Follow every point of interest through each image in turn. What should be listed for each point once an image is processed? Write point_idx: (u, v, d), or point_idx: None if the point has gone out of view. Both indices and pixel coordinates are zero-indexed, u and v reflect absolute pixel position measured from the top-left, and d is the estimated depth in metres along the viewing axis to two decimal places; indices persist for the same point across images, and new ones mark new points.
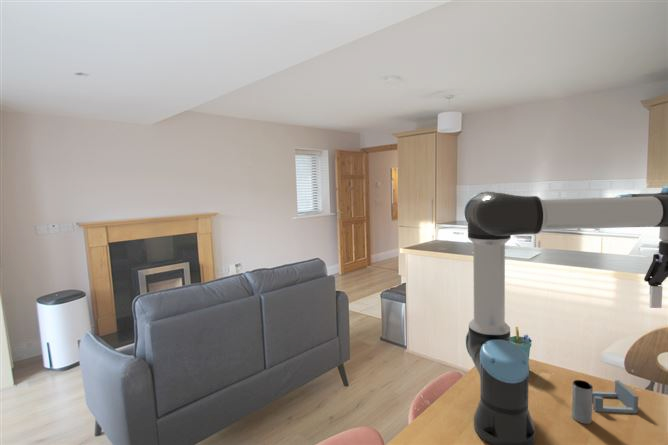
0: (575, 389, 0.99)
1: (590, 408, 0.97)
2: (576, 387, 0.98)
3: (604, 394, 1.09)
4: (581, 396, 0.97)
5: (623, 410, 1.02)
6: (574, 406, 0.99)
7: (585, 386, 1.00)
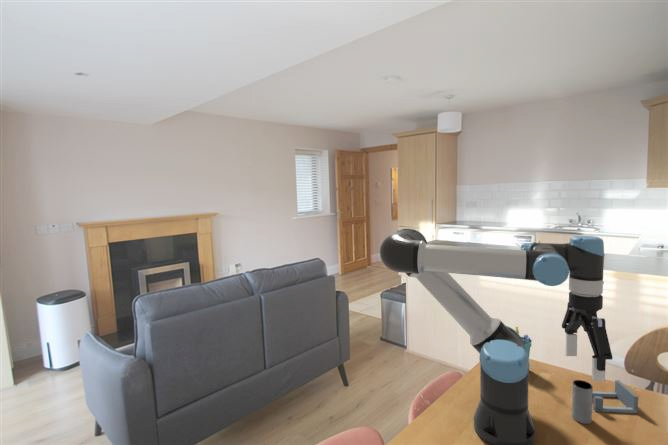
0: (575, 389, 0.99)
1: (590, 408, 0.97)
2: (576, 387, 0.98)
3: (604, 394, 1.09)
4: (581, 396, 0.97)
5: (623, 410, 1.02)
6: (574, 406, 0.99)
7: (585, 386, 1.00)
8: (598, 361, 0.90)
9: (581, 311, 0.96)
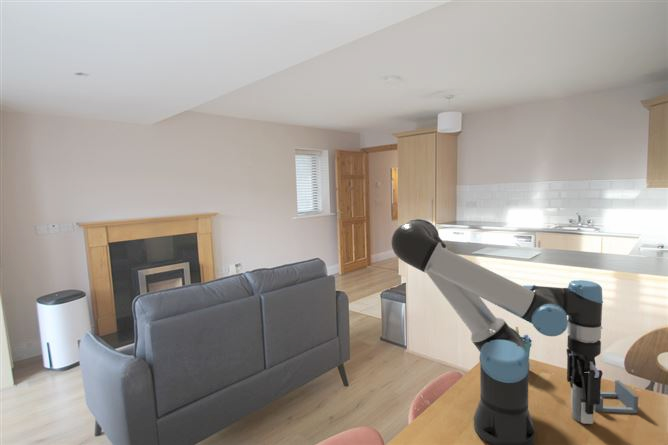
0: (575, 389, 0.99)
1: None
2: (576, 387, 0.98)
3: (604, 394, 1.09)
4: (581, 396, 0.97)
5: (623, 410, 1.02)
6: (574, 406, 0.99)
7: None
8: (586, 405, 0.96)
9: (579, 355, 0.98)
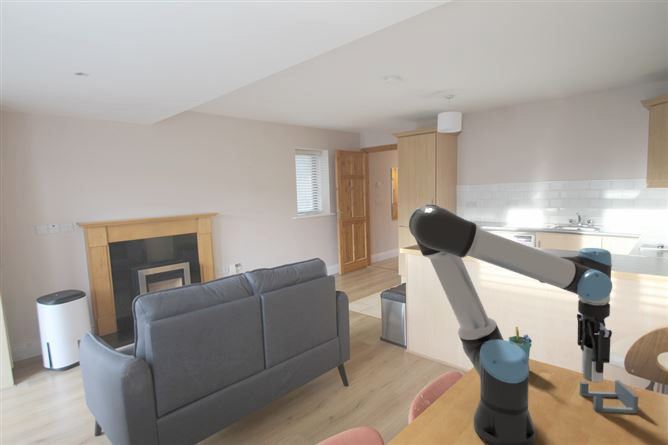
0: (586, 350, 1.05)
1: None
2: (587, 348, 1.04)
3: (604, 394, 1.09)
4: (592, 356, 1.03)
5: (623, 410, 1.02)
6: (585, 366, 1.05)
7: None
8: (597, 364, 1.02)
9: (590, 318, 1.04)
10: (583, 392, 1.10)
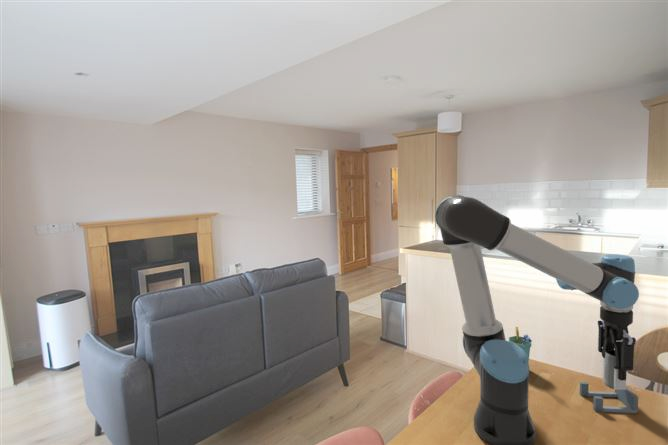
0: (608, 357, 1.04)
1: None
2: (609, 355, 1.04)
3: (604, 394, 1.09)
4: (614, 363, 1.03)
5: (623, 410, 1.02)
6: (607, 374, 1.05)
7: None
8: (619, 371, 1.01)
9: (612, 325, 1.03)
10: (583, 392, 1.10)
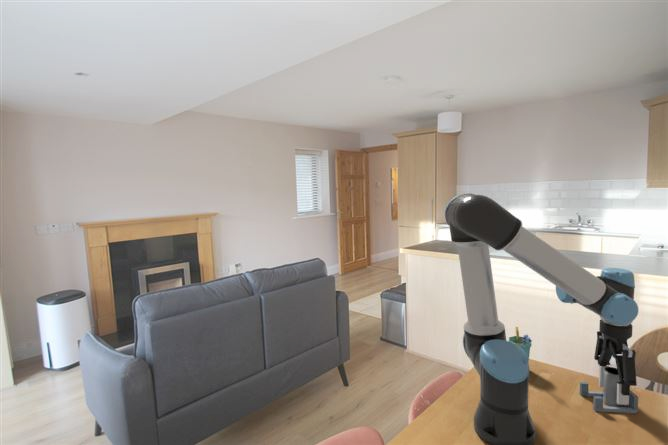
0: (607, 375, 1.05)
1: None
2: (608, 373, 1.04)
3: None
4: (612, 381, 1.03)
5: (623, 410, 1.02)
6: (605, 391, 1.05)
7: (616, 372, 1.06)
8: (623, 386, 1.00)
9: (611, 338, 1.03)
10: (583, 392, 1.10)
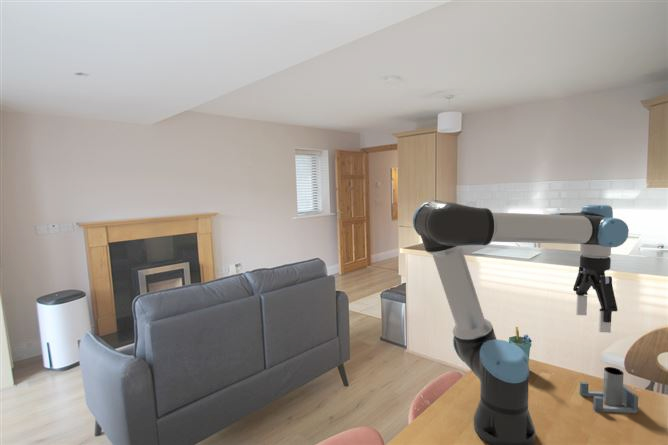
0: (607, 375, 1.05)
1: (621, 393, 1.03)
2: (608, 373, 1.04)
3: None
4: (613, 381, 1.03)
5: (623, 410, 1.02)
6: (605, 391, 1.05)
7: (616, 372, 1.06)
8: (604, 314, 1.02)
9: (591, 272, 1.08)
10: (583, 392, 1.10)
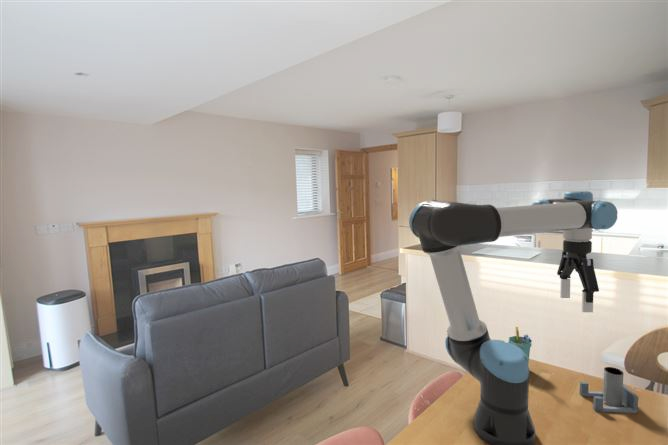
0: (607, 375, 1.05)
1: (621, 393, 1.03)
2: (608, 373, 1.04)
3: None
4: (613, 381, 1.03)
5: (623, 410, 1.02)
6: (605, 391, 1.05)
7: (616, 372, 1.06)
8: (587, 294, 1.06)
9: (573, 255, 1.13)
10: (583, 392, 1.10)
